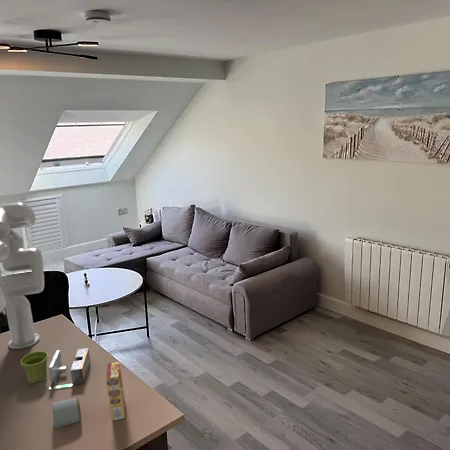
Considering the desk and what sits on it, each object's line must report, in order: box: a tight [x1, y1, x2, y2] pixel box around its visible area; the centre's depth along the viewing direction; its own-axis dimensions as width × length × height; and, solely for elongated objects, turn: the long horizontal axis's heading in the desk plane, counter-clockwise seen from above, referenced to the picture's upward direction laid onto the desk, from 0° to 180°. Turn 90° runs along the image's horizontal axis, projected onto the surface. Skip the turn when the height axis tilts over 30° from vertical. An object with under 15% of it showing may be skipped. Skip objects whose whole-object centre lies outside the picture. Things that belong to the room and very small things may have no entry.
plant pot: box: [20, 350, 49, 384], centre depth 155 cm, size 9×9×9 cm
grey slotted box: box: [48, 347, 91, 391], centre depth 156 cm, size 12×16×6 cm
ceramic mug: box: [51, 397, 82, 430], centre depth 132 cm, size 11×8×8 cm
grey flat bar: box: [48, 349, 68, 388], centre depth 155 cm, size 4×14×7 cm, turn 9°
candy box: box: [105, 361, 126, 422], centre depth 134 cm, size 9×4×15 cm, turn 13°
